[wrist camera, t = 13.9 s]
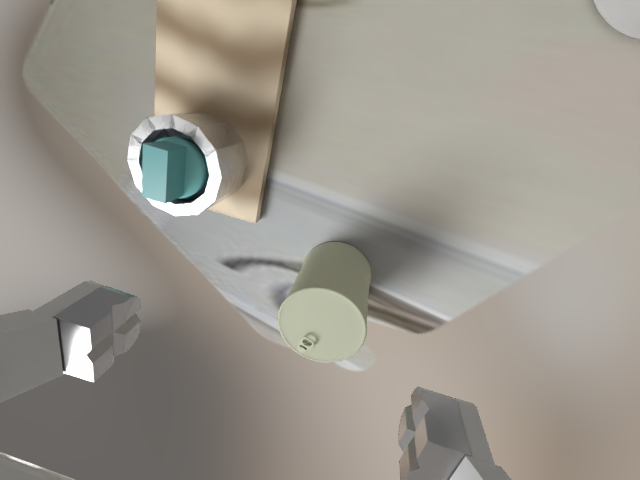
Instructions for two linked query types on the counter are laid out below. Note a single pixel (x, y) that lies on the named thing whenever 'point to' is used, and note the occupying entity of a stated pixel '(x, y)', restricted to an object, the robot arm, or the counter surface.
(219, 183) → the white thick faceted ring
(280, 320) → the can
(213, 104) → the base plate
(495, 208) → the counter surface
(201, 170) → the teal disc with post
